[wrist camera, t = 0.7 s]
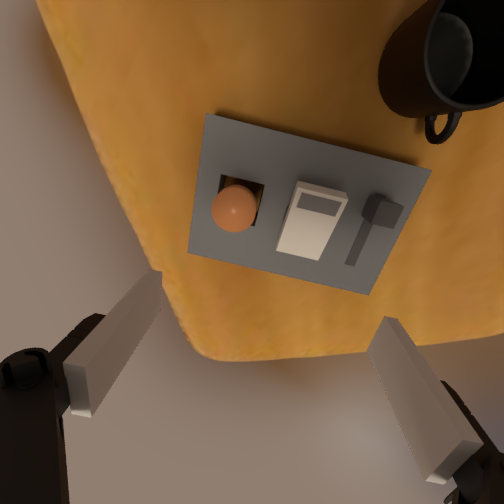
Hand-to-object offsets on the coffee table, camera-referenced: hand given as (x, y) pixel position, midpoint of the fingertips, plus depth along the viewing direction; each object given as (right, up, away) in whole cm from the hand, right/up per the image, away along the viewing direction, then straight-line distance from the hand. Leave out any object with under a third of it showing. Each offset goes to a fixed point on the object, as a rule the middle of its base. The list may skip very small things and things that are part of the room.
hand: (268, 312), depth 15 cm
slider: (+13, +9, +13) cm, 20 cm away
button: (-2, +10, +15) cm, 18 cm away
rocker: (+5, +7, +12) cm, 15 cm away
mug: (+17, +22, +12) cm, 30 cm away
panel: (+4, +9, +18) cm, 21 cm away
